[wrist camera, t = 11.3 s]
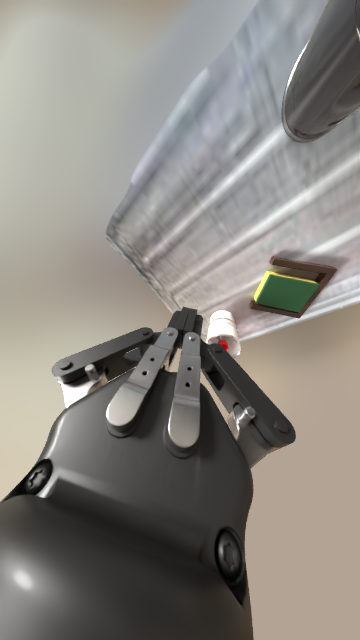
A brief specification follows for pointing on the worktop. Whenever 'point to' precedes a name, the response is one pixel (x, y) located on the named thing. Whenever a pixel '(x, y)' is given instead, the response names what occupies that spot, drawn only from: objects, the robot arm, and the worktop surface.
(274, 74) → the worktop surface
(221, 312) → the white canister
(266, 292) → the sponge
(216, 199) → the worktop surface
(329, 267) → the sponge rack
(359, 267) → the worktop surface
